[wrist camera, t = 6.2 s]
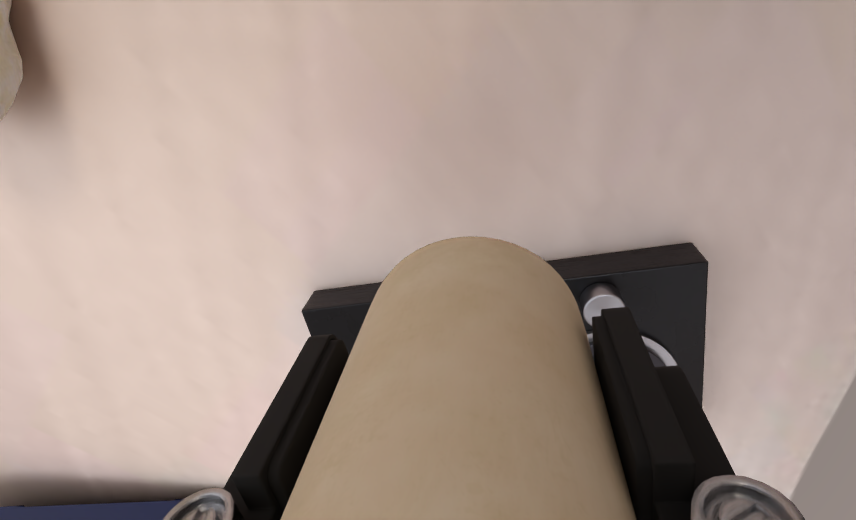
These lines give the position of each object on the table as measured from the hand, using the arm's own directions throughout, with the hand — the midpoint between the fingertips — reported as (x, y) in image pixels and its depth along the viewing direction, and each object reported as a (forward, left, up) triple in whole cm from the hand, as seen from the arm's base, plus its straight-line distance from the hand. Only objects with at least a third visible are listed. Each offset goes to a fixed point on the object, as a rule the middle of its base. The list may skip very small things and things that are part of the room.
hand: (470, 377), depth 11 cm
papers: (+32, -38, -15) cm, 52 cm away
